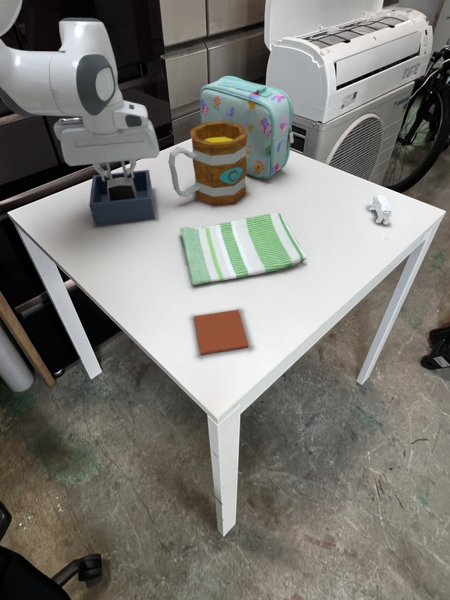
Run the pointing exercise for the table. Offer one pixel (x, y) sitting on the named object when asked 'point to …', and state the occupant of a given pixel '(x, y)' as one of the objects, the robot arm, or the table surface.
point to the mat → (220, 332)
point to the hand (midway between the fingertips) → (118, 178)
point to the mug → (215, 163)
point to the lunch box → (253, 120)
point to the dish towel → (240, 248)
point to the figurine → (381, 209)
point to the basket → (122, 201)
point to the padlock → (120, 186)
